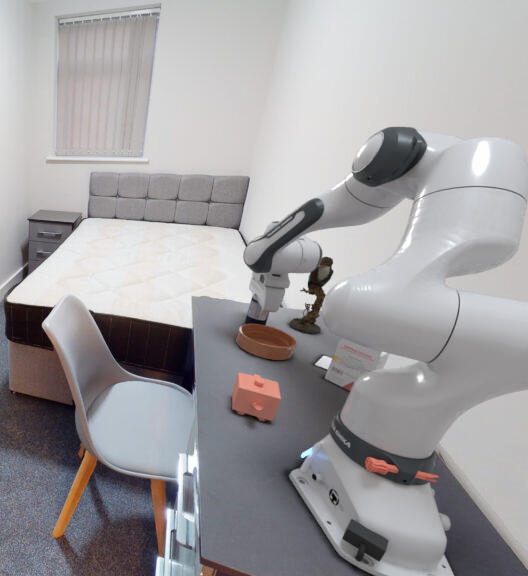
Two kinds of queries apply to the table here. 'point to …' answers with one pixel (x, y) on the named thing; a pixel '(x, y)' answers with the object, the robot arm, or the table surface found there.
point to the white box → (324, 362)
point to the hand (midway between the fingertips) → (257, 313)
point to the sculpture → (315, 288)
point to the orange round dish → (266, 341)
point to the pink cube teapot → (256, 396)
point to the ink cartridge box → (353, 363)
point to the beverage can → (254, 313)
